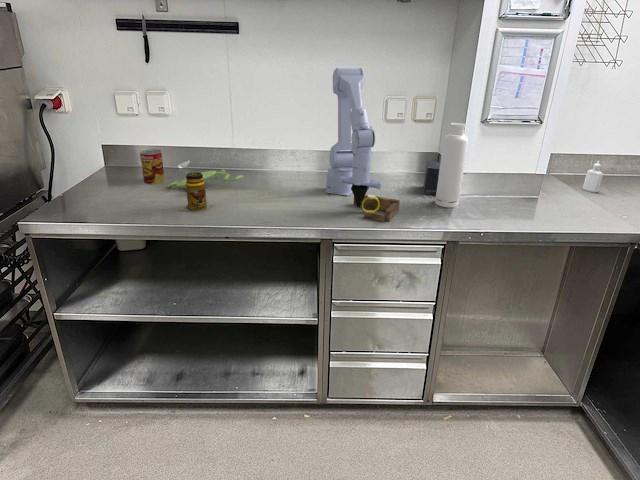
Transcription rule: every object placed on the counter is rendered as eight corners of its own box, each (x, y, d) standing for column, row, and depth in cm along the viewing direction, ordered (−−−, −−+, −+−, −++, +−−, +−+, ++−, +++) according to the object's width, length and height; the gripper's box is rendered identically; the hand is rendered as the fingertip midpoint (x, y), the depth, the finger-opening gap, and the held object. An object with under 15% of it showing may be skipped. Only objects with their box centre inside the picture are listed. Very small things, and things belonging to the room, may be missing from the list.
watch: (377, 211, 150) (380, 195, 147) (378, 214, 147) (381, 198, 145) (360, 210, 149) (362, 193, 147) (361, 213, 147) (363, 196, 144)
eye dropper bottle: (588, 192, 172) (596, 162, 167) (580, 188, 177) (589, 159, 172) (599, 193, 172) (608, 163, 167) (591, 188, 177) (600, 159, 172)
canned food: (140, 181, 174) (135, 151, 169) (157, 177, 180) (152, 148, 175) (152, 185, 170) (148, 155, 165) (169, 181, 176) (165, 151, 171)
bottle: (437, 198, 163) (448, 121, 151) (460, 202, 159) (472, 123, 148) (432, 205, 156) (443, 124, 144) (455, 208, 153) (468, 127, 141)
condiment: (201, 213, 144) (197, 178, 140) (178, 210, 147) (174, 175, 142) (212, 206, 151) (209, 172, 146) (190, 203, 153) (187, 169, 148)
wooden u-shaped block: (342, 214, 146) (342, 202, 145) (354, 203, 156) (355, 192, 154) (388, 222, 140) (389, 210, 138) (398, 211, 150) (399, 200, 148)
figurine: (248, 188, 170) (247, 174, 168) (179, 200, 156) (177, 185, 154) (229, 177, 184) (228, 163, 182) (164, 186, 170) (162, 172, 168)
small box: (440, 196, 165) (444, 168, 161) (423, 194, 167) (426, 167, 162) (439, 187, 175) (443, 161, 170) (423, 186, 176) (426, 160, 172)
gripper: (336, 166, 142) (334, 206, 148) (378, 172, 137) (375, 213, 142) (344, 162, 148) (342, 200, 154) (385, 167, 143) (382, 207, 148)
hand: (359, 206), depth 149 cm, fingers closed
